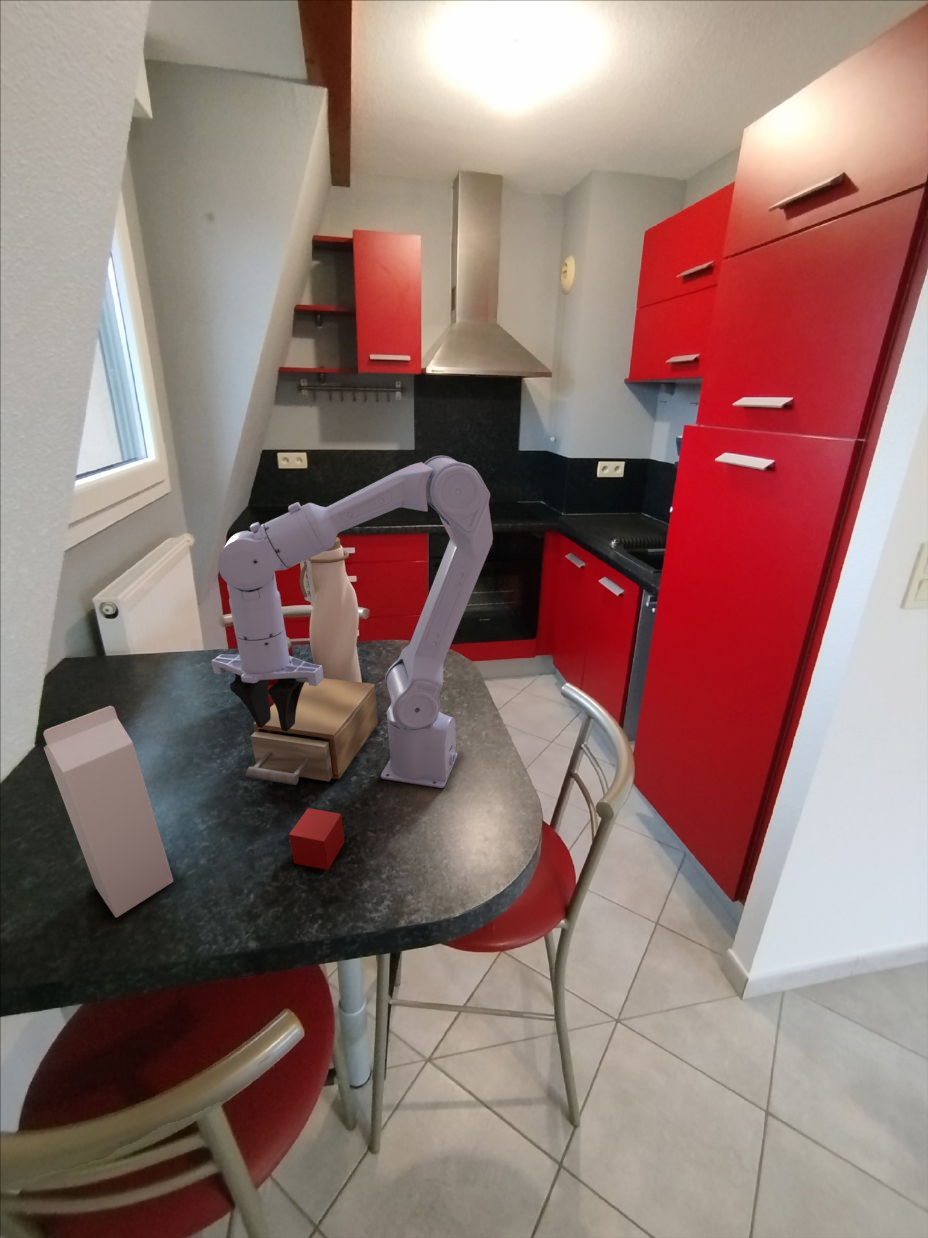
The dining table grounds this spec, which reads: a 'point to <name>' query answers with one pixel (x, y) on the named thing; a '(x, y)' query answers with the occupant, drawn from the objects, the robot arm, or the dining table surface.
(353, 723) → the cabinet
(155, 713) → the dining table surface
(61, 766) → the milk
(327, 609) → the water bottle
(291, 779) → the drawer
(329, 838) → the block
